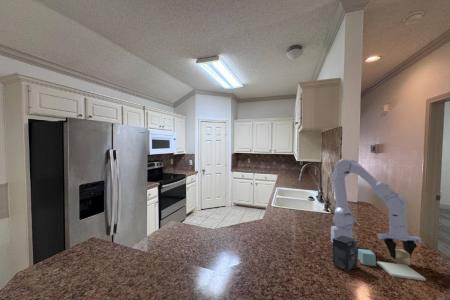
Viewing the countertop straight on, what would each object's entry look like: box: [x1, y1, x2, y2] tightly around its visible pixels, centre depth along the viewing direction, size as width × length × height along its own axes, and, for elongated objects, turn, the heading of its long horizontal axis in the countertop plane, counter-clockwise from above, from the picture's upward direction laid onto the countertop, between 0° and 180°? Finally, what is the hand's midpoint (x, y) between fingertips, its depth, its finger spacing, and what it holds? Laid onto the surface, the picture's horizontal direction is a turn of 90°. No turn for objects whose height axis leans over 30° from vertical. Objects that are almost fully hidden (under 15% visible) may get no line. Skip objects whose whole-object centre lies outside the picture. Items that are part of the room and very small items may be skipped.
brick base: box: [390, 248, 411, 266], centre depth 80 cm, size 4×4×4 cm
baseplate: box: [376, 261, 426, 282], centre depth 73 cm, size 10×10×1 cm
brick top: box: [357, 248, 377, 267], centre depth 80 cm, size 4×4×4 cm
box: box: [332, 235, 358, 272], centre depth 76 cm, size 8×6×11 cm
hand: (400, 258), depth 80 cm, fingers closed on brick base, 4 cm apart
